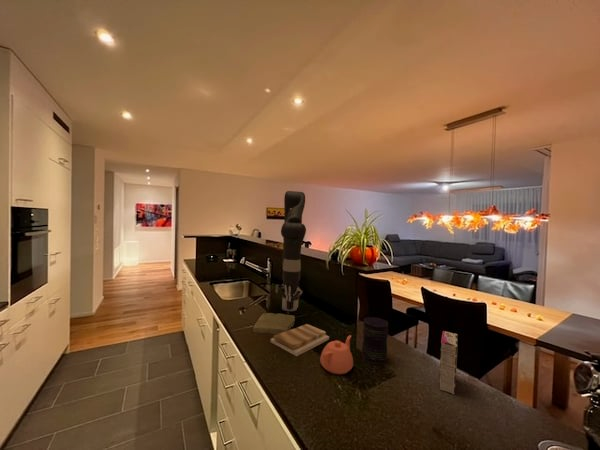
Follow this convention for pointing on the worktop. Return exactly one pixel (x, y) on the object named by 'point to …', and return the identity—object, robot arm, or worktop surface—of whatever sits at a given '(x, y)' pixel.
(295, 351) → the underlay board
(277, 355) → the worktop surface
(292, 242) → the robot arm
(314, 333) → the light oak plank
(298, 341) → the honey oak plank
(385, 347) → the storage jar
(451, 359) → the candy bar box
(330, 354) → the teapot
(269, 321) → the decorative tile
